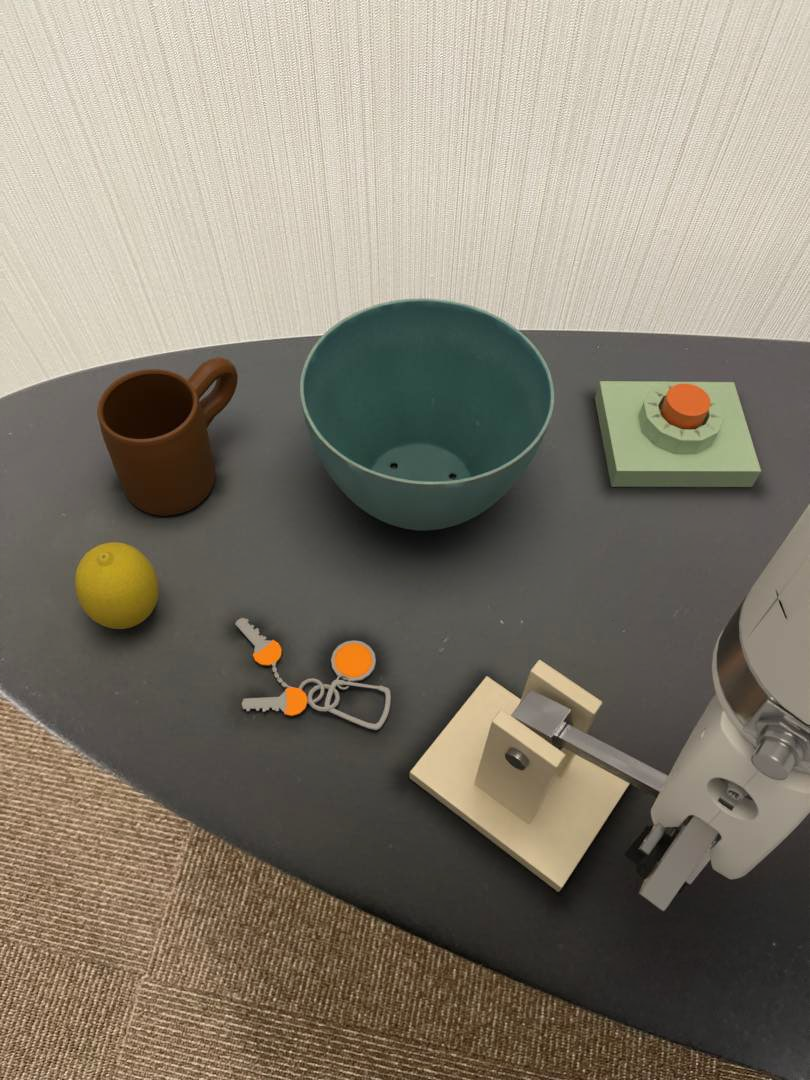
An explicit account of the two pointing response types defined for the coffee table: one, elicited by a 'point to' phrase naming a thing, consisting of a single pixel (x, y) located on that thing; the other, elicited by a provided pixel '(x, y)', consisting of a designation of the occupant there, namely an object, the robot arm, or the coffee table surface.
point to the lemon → (116, 585)
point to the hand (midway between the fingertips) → (687, 811)
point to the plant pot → (425, 409)
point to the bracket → (522, 777)
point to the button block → (674, 438)
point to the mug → (165, 433)
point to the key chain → (347, 663)
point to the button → (685, 406)
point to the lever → (585, 743)
